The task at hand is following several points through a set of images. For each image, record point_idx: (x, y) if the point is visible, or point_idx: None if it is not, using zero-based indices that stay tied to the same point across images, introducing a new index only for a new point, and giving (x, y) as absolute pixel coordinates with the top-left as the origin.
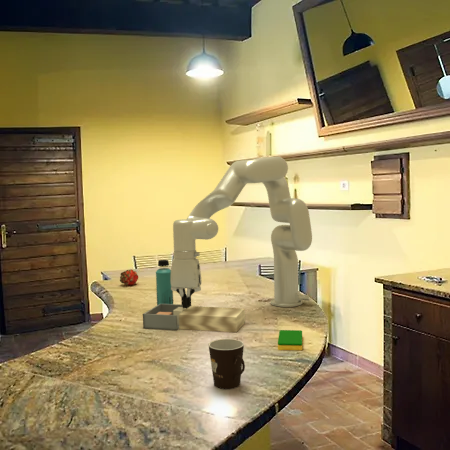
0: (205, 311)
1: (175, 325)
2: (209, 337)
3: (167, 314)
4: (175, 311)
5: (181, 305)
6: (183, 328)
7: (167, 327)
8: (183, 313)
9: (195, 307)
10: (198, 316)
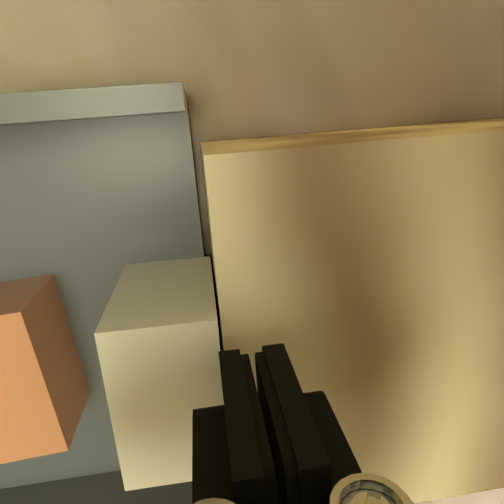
0: (483, 353)
1: None
2: (486, 496)
3: (28, 408)
4: (154, 477)
5: (20, 122)
6: None
7: None
8: None
9: (308, 216)
10: (441, 489)
